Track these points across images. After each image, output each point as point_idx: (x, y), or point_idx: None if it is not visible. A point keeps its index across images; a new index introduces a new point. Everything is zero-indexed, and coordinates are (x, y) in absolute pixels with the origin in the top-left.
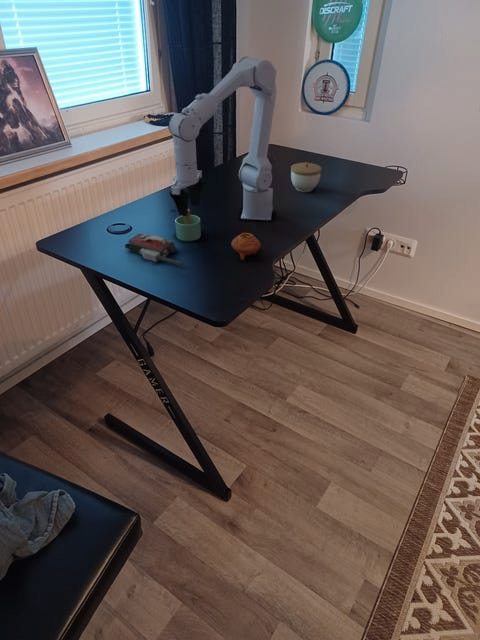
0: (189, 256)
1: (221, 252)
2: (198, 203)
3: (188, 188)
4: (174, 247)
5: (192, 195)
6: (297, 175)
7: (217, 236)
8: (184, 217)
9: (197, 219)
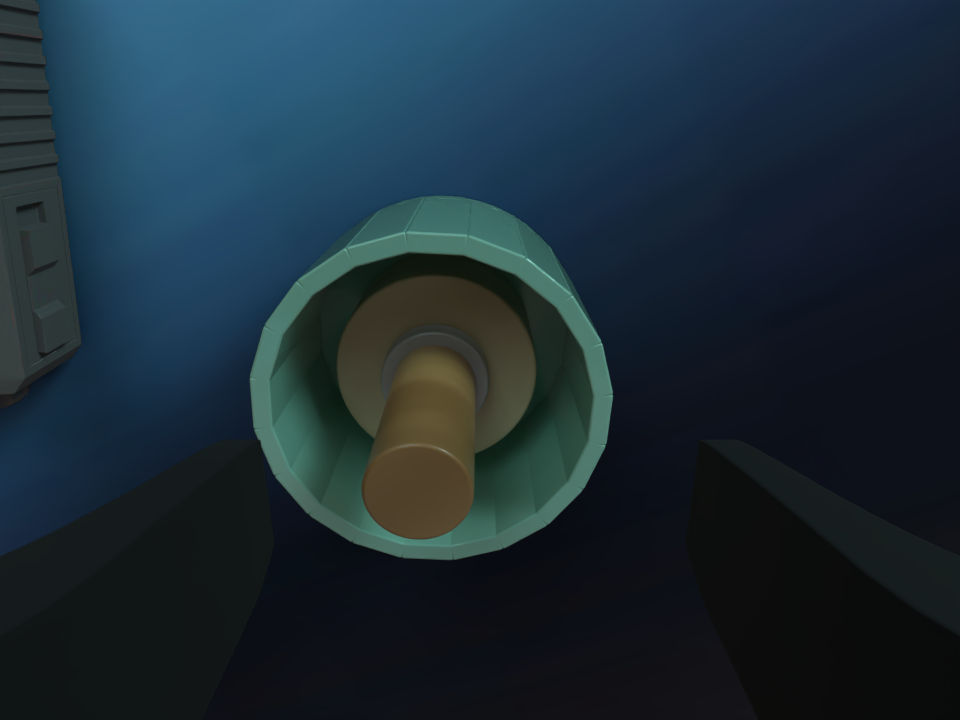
0: (76, 513)
1: (278, 692)
2: (706, 586)
3: (902, 625)
4: (3, 402)
5: (785, 584)
6: None
7: (535, 573)
8: (388, 405)
9: (556, 472)
